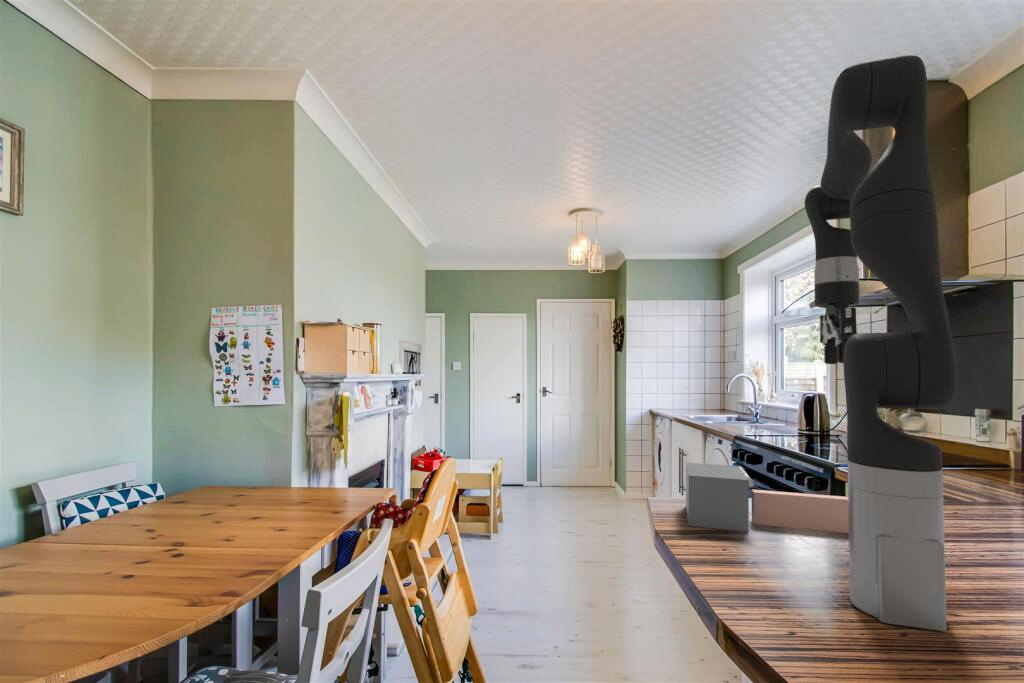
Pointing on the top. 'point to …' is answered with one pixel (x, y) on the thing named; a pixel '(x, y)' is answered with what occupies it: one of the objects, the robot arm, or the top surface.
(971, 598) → the top surface
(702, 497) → the grey bevelled box
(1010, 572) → the top surface
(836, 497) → the tan rectangular block
